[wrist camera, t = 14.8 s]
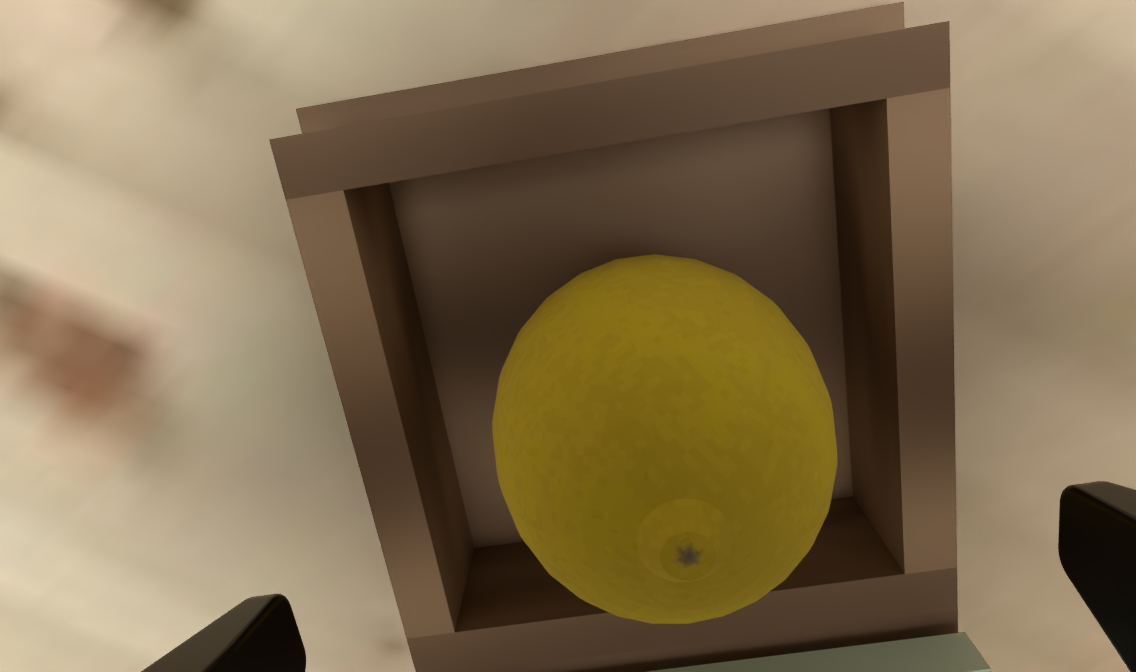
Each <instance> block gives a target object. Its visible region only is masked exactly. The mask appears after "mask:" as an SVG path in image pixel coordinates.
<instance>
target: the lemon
mask: <svg viewBox="0 0 1136 672" xmlns="http://www.w3.org/2000/svg"><path fill="white" fill-rule="evenodd" d="M492 433H493V442H494V451H495V460H496V469H497V476H498V481H499V485H500V488H501V491H502V494H503V496H504V499H505V501H506V504H507V506H508V508H509V511H510V513H511V516H512V518H513V521H514V523H515V525H516V528H517V530H518V532H519V534H520V536H521V538H522V539H523V540H524V542H525V543H526V544H527V546H528V547H529V548H530V550H531V551H532V552H533V553H534V555H535V556H536V557H537V559H538V560H539V561H540V563H541V564H542V565H543V567H544V568H545V569H546V570H547V572H548V573H549V574H550V575H551V576H552V577H553V578H555V579H556V580H557V581H559V582H560V583H561V584H562V585H564V586H565V587H566V588H567V589H569V590H570V591H571V592H572V593H574V594H575V595H576V596H577V597H579V598H580V599H582V600H584V601H585V602H587V603H590V604H592V605H594V606H596V607H598V608H600V609H603V610H605V611H607V612H609V613H611V614H613V615H616V616H618V617H623V618H628V619H632V620H637V621H642V622H646V623H651V624H689V623H694V622H699V621H704V620H708V619H713V618H718V617H722V616H725V615H727V614H730V613H732V612H734V611H736V610H738V609H741V608H743V607H745V606H747V605H749V604H752V603H754V602H756V601H758V600H759V599H760V598H762V597H763V596H764V595H766V594H767V593H768V592H770V591H771V590H772V589H774V588H775V587H776V586H778V585H779V584H780V583H782V582H783V581H784V580H785V579H786V578H787V577H788V576H789V575H790V573H791V572H792V571H793V570H794V569H795V567H796V566H797V565H798V564H799V563H800V561H801V560H802V559H803V558H804V557H805V555H806V554H807V553H808V552H809V550H810V549H811V547H812V546H813V544H814V542H815V539H816V537H817V535H818V533H819V531H820V529H821V527H822V525H823V522H824V520H825V518H826V516H827V514H828V511H829V507H830V503H831V497H832V492H833V486H834V480H835V475H836V469H837V445H836V436H835V427H834V417H833V410H832V403H831V400H830V396H829V393H828V390H827V388H826V385H825V383H824V381H823V378H822V376H821V373H820V371H819V369H818V366H817V364H816V361H815V359H814V357H813V354H812V352H811V350H810V348H809V346H808V344H807V343H806V341H805V340H804V338H803V337H802V336H801V335H800V333H799V332H798V331H797V330H796V328H795V327H794V326H793V324H792V323H791V322H790V321H789V319H788V318H787V317H786V316H785V314H784V313H783V312H782V311H781V309H780V308H779V307H778V306H777V305H776V304H775V303H774V302H773V301H772V300H771V299H769V298H768V297H766V296H765V295H764V294H762V293H761V292H760V291H758V290H757V289H756V288H754V287H753V286H751V285H750V284H749V283H747V282H746V281H745V280H743V279H742V278H740V277H739V276H737V275H735V274H734V273H731V272H728V271H726V270H723V269H720V268H718V267H715V266H713V265H710V264H707V263H705V262H702V261H699V260H697V259H691V258H683V257H674V256H665V255H657V254H652V255H644V256H637V257H629V258H621V259H615V260H613V261H610V262H608V263H605V264H603V265H600V266H598V267H595V268H593V269H590V270H588V271H585V272H583V273H580V274H579V275H578V276H576V277H575V278H573V279H572V280H571V281H569V282H568V283H566V284H565V285H564V286H562V287H561V288H560V289H558V290H557V291H555V292H554V293H553V294H551V295H550V296H549V297H547V298H546V299H545V300H544V302H543V303H542V304H541V305H540V306H539V308H538V309H537V310H536V311H535V312H534V314H533V315H532V316H531V317H530V318H529V320H528V321H527V322H526V323H525V324H524V326H523V327H522V328H521V330H520V331H519V333H518V335H517V337H516V339H515V341H514V344H513V346H512V348H511V350H510V352H509V355H508V357H507V359H506V361H505V363H504V366H503V368H502V370H501V373H500V376H499V382H498V389H497V395H496V401H495V407H494V414H493V421H492Z"/></svg>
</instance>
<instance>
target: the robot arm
mask: <svg viewBox="0 0 1136 672" xmlns="http://www.w3.org/2000/svg"><path fill="white" fill-rule="evenodd" d="M1058 549H1059V557H1060V561H1061V564H1062V566H1063V568H1064V571H1065V572H1066V574H1067V576H1068V577H1069V579H1070V580H1071V582H1072V583H1073V585H1074V586H1075V588H1076V589H1077V591H1078V592H1079V594H1080V595H1081V597H1082V599H1083V600H1084V602H1085V603H1086V605H1087V606H1088V608H1089V609H1090V611H1091V612H1092V614H1093V615H1094V617H1095V618H1096V620H1097V621H1098V623H1099V624H1100V626H1101V628H1102V629H1103V631H1104V632H1105V634H1106V635H1107V637H1108V638H1109V640H1110V641H1111V643H1112V644H1113V646H1114V647H1115V649H1116V650H1117V652H1118V653H1119V655H1120V657H1121V658H1122V660H1123V661H1124V663H1125V664H1126V666H1127V667H1128V669H1129V670H1130V672H1136V490H1134V489H1130V488H1127V487H1124V486H1120V485H1117V484H1113V483H1110V482H1104V481H1098V482H1091V483H1084V484H1077V485H1071V486H1068V487H1067V488H1065V489H1064V490H1063V492H1062V494H1061V498H1060V515H1059V544H1058ZM305 668H306V654H305V649H304V645H303V642H302V639H301V636H300V633H299V630H298V627H297V624H296V621H295V618H294V615H293V611H292V608H291V605H290V603H289V601H288V600H287V598H286V597H285V596H283V595H281V594H271V595H264V596H256V597H251V598H248V599H246V600H244V601H243V602H241V603H240V604H239V605H237V606H236V607H234V608H233V609H231V610H230V611H228V612H227V613H226V614H224V615H223V616H221V617H220V618H218V619H217V620H215V621H214V622H212V623H211V624H210V625H208V626H207V627H205V628H204V629H202V630H201V631H199V632H198V633H197V634H195V635H194V636H192V637H191V638H189V639H188V640H186V641H185V642H183V643H182V644H181V645H179V646H178V647H176V648H175V649H173V650H172V651H170V652H169V653H167V654H166V655H165V656H163V657H162V658H160V659H159V660H157V661H156V662H154V663H153V664H152V665H150V666H149V667H147V668H146V669H144V670H143V671H141V672H305Z"/></svg>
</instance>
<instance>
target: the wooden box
mask: <svg viewBox="0 0 1136 672" xmlns="http://www.w3.org/2000/svg"><path fill="white" fill-rule="evenodd" d="M296 111H297V115H298V119H299V123H300V127H301V130H302V134H299V135H293V136H287V137H281V138H276V139H270V144H271V148H272V151H273V155H274V159H275V162H276V166H277V170H278V173H279V177H280V180H281V184H282V188H283V191H284V195H285V199H286V202H287V206H288V209H289V213H290V217H291V220H292V224H293V228H294V231H295V235H296V238H297V242H298V246H299V249H300V253H301V257H302V260H303V264H304V268H305V271H306V275H307V278H308V282H309V286H310V289H311V293H312V297H313V300H314V304H315V307H316V311H317V315H318V318H319V322H320V326H321V329H322V333H323V336H324V340H325V344H326V347H327V351H328V355H329V358H330V362H331V366H332V369H333V373H334V376H335V380H336V384H337V387H338V391H339V395H340V398H341V402H342V405H343V409H344V413H345V416H346V420H347V424H348V427H349V431H350V435H351V438H352V442H353V445H354V449H355V453H356V456H357V460H358V464H359V467H360V471H361V474H362V478H363V482H364V485H365V489H366V493H367V496H368V500H369V503H370V507H371V511H372V514H373V518H374V522H375V525H376V529H377V533H378V536H379V540H380V543H381V547H382V551H383V554H384V558H385V562H386V565H387V569H388V572H389V576H390V580H391V583H392V587H393V591H394V594H395V598H396V602H397V605H398V609H399V612H400V616H401V620H402V623H403V627H404V631H405V634H406V638H407V641H408V645H409V649H410V652H411V656H412V660H413V663H414V667H415V670H416V672H647V671H655V670H663V669H671V668H680V667H688V666H696V665H704V664H712V663H720V662H728V661H736V660H744V659H752V658H760V657H768V656H776V655H784V654H792V653H800V652H808V651H816V650H824V649H832V648H841V647H849V646H857V645H865V644H873V643H881V642H889V641H897V640H905V639H913V638H921V637H929V636H937V635H945V634H953V633H958V610H957V539H956V468H955V397H954V326H953V255H952V184H951V113H950V41H949V21H947V22H941V23H936V24H930V25H924V26H918V27H913V28H907V29H904V2H899V3H894V4H888V5H882V6H877V7H871V8H865V9H860V10H854V11H848V12H843V13H837V14H831V15H826V16H820V17H814V18H809V19H803V20H797V21H792V22H786V23H780V24H775V25H769V26H763V27H758V28H752V29H746V30H741V31H735V32H729V33H724V34H718V35H712V36H707V37H701V38H695V39H690V40H684V41H678V42H673V43H667V44H662V45H656V46H650V47H645V48H639V49H633V50H628V51H622V52H616V53H611V54H605V55H599V56H594V57H588V58H582V59H577V60H571V61H565V62H560V63H554V64H548V65H543V66H537V67H531V68H526V69H520V70H514V71H509V72H503V73H497V74H492V75H486V76H480V77H475V78H469V79H463V80H458V81H452V82H446V83H441V84H435V85H429V86H424V87H418V88H412V89H407V90H401V91H395V92H390V93H384V94H378V95H373V96H367V97H361V98H356V99H350V100H344V101H339V102H333V103H327V104H322V105H316V106H310V107H305V108H299V109H296ZM652 254H657V255H665V256H674V257H683V258H691V259H697V260H699V261H702V262H705V263H707V264H710V265H713V266H715V267H718V268H720V269H723V270H726V271H728V272H731V273H734V274H735V275H737V276H739V277H740V278H742V279H743V280H745V281H746V282H747V283H749V284H750V285H751V286H753V287H754V288H756V289H757V290H758V291H760V292H761V293H762V294H764V295H765V296H766V297H768V298H769V299H771V300H772V301H773V302H774V303H775V304H776V305H777V306H778V307H779V308H780V309H781V311H782V312H783V313H784V314H785V316H786V317H787V318H788V319H789V321H790V322H791V323H792V324H793V326H794V327H795V328H796V330H797V331H798V332H799V333H800V335H801V336H802V337H803V338H804V340H805V341H806V343H807V344H808V346H809V348H810V350H811V352H812V354H813V357H814V359H815V361H816V364H817V366H818V369H819V371H820V373H821V376H822V378H823V381H824V383H825V385H826V388H827V390H828V393H829V396H830V400H831V403H832V410H833V417H834V427H835V436H836V445H837V469H836V475H835V480H834V486H833V492H832V497H831V503H830V507H829V511H828V514H827V516H826V518H825V520H824V522H823V525H822V527H821V529H820V531H819V533H818V535H817V537H816V539H815V542H814V544H813V546H812V547H811V549H810V550H809V552H808V553H807V554H806V555H805V557H804V558H803V559H802V560H801V561H800V563H799V564H798V565H797V566H796V567H795V569H794V570H793V571H792V572H791V573H790V575H789V576H788V577H787V578H786V579H785V580H784V581H783V582H782V583H780V584H779V585H778V586H776V587H775V588H774V589H772V590H771V591H770V592H768V593H767V594H766V595H764V596H763V597H762V598H760V599H759V600H758V601H756V602H754V603H752V604H749V605H747V606H745V607H743V608H741V609H738V610H736V611H734V612H732V613H730V614H727V615H725V616H722V617H718V618H713V619H708V620H704V621H699V622H694V623H689V624H651V623H646V622H642V621H637V620H632V619H628V618H623V617H618V616H616V615H613V614H611V613H609V612H607V611H605V610H603V609H600V608H598V607H596V606H594V605H592V604H590V603H587V602H585V601H584V600H582V599H580V598H579V597H577V596H576V595H575V594H574V593H572V592H571V591H570V590H569V589H567V588H566V587H565V586H564V585H562V584H561V583H560V582H559V581H557V580H556V579H555V578H553V577H552V576H551V575H550V574H549V573H548V572H547V570H546V569H545V568H544V567H543V565H542V564H541V563H540V561H539V560H538V559H537V557H536V556H535V555H534V553H533V552H532V551H531V550H530V548H529V547H528V546H527V544H526V543H525V542H524V540H523V539H522V538H521V536H520V534H519V532H518V530H517V528H516V525H515V523H514V521H513V518H512V516H511V513H510V511H509V508H508V506H507V504H506V501H505V499H504V496H503V494H502V491H501V488H500V485H499V481H498V476H497V469H496V460H495V451H494V442H493V433H492V421H493V414H494V407H495V401H496V395H497V389H498V382H499V376H500V373H501V370H502V368H503V366H504V363H505V361H506V359H507V357H508V355H509V352H510V350H511V348H512V346H513V344H514V341H515V339H516V337H517V335H518V333H519V331H520V330H521V328H522V327H523V326H524V324H525V323H526V322H527V321H528V320H529V318H530V317H531V316H532V315H533V314H534V312H535V311H536V310H537V309H538V308H539V306H540V305H541V304H542V303H543V302H544V300H545V299H546V298H547V297H549V296H550V295H551V294H553V293H554V292H555V291H557V290H558V289H560V288H561V287H562V286H564V285H565V284H566V283H568V282H569V281H571V280H572V279H573V278H575V277H576V276H578V275H579V274H580V273H583V272H585V271H588V270H590V269H593V268H595V267H598V266H600V265H603V264H605V263H608V262H610V261H613V260H615V259H621V258H629V257H637V256H644V255H652Z"/></svg>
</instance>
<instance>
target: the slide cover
mask: <svg viewBox="0 0 1136 672" xmlns="http://www.w3.org/2000/svg"><path fill="white" fill-rule="evenodd" d="M647 672H991V668H990V667H989V665H988V664H987V663H986V661H985V660H984V658H983V657H982V656H981V654H980V653H979V651H978V650H977V649H976V647H975V646H974V644H973V643H972V641H971V640H970V639H969V637H968V636H967V634H966V633H965V632H961V633H953V634H945V635H937V636H929V637H921V638H913V639H905V640H897V641H889V642H881V643H873V644H865V645H857V646H849V647H841V648H832V649H824V650H816V651H808V652H800V653H792V654H784V655H776V656H768V657H760V658H752V659H744V660H736V661H728V662H720V663H712V664H704V665H696V666H688V667H680V668H671V669H663V670H655V671H647Z"/></svg>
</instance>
